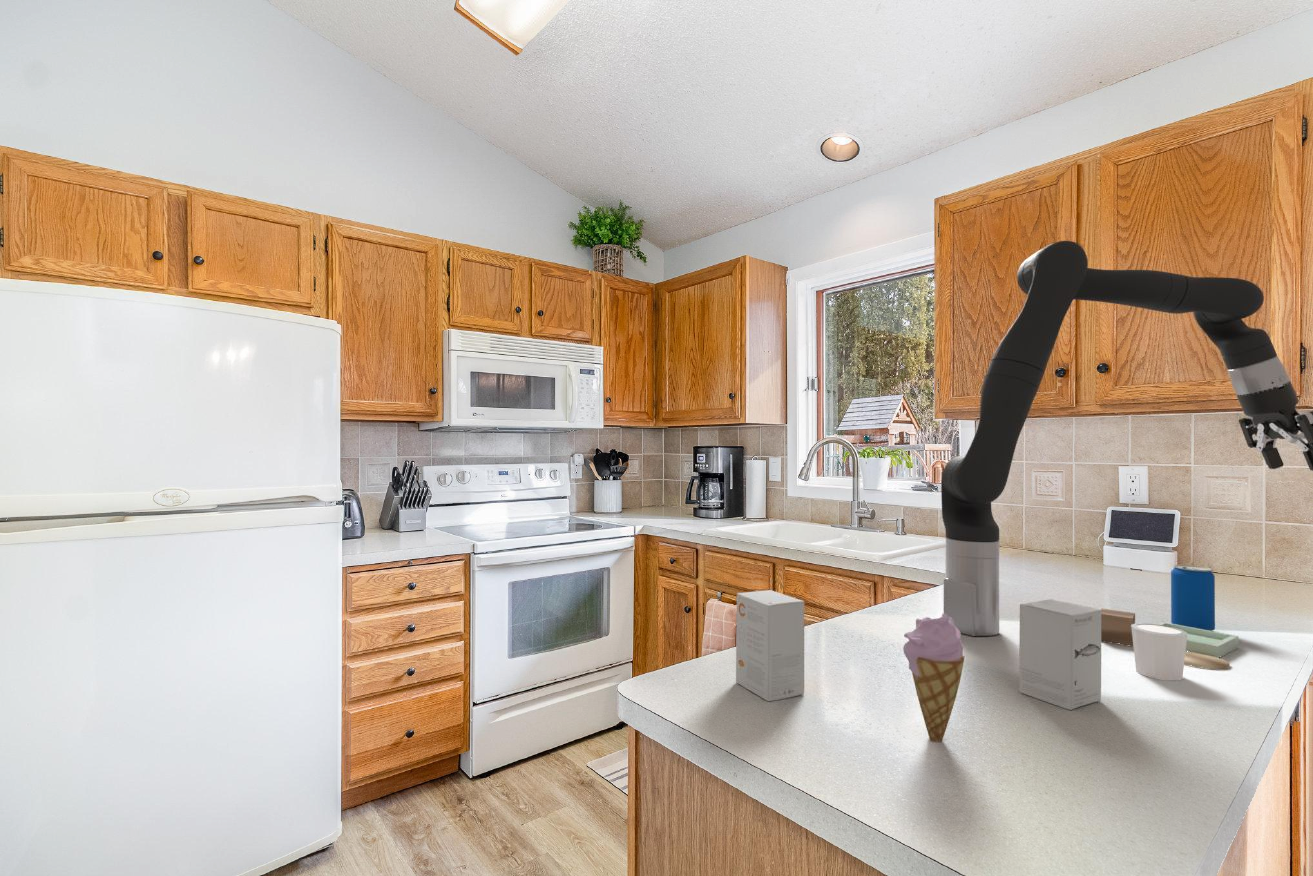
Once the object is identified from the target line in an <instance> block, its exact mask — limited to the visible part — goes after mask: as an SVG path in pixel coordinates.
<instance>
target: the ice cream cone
mask: <svg viewBox="0 0 1313 876" xmlns="http://www.w3.org/2000/svg"><path fill="white" fill-rule="evenodd" d="M903 636H904V638H906V639H908V641H907V642H905V643H904V645H903V654H904V656H905V658H906V659H907V661H908V669H909V671H911V673H912V679H913V683H914V687H915V688H914V689H915V692H916V695H917V699H918V703H919V708H920V711H921V713H922V714H921V715H922V717H923V720H924V721H923V722H924V724H925V728H926V731H927V735H928V738H929V740H930V741H932V742H936V743H942V741H943V740H944V737H945V734H946V731H947V728H948V727H947V726H948V724H949V721H950V717H951V714H952V712H953V708H954V705H955V702H956V698H957V694H958V689H959V687H960V683H961V678H962V674H963V668H964V663H965V656H964V654H963V653H964V652H963V651H964V645H963V642H962V641H961V639H962V633H960V631H959V630H958V629H957V628H956V627H955V626H954V622H953V619H952V618H951V617H948V616H947V615H946V614H944V612H942V615H941V616H940V617H938V618H930V617H929V616H926V617H923V618H922V619H920V618H916V619H915V629H913V631H908V632H905V633H904V634H903Z"/></svg>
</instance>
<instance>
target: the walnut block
mask: <svg viewBox="0 0 1313 876" xmlns="http://www.w3.org/2000/svg"><path fill="white" fill-rule="evenodd" d="M1100 610H1101V642H1103V641H1105V642H1104V643H1109V642H1112V643H1111V644H1114V643H1120V644H1123V645H1122V646H1126V645H1130V646H1129V647H1132V646H1133V638H1132V629H1131V625H1132V624H1136V612H1130V611H1123V610H1116V609H1115V610H1114V609H1108V608H1101V609H1100ZM1120 644H1119V645H1120Z"/></svg>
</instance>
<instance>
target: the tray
mask: <svg viewBox="0 0 1313 876" xmlns="http://www.w3.org/2000/svg"><path fill="white" fill-rule="evenodd" d="M1155 624H1156V625H1163V626H1168V627H1173V628H1177V629H1180V630H1183V631H1185V632H1187V642H1186V651H1188V652H1195V653H1201V654H1206V655H1210V656H1214V657H1217V658H1219V657H1220V656H1222V657H1223V655H1224V656H1225V655H1227V654H1229V653H1231V652H1233V651H1235V650H1237V649H1239V645H1240V644H1239V635H1235V634H1229V633H1224V632H1219V631H1214V630H1212V631H1209V630H1203V629H1198V628H1193V627H1187V626H1182V625H1177V624H1172V623H1171V622H1166V621H1161V622H1157V623H1155ZM1228 652H1229V653H1228ZM1220 658H1221V657H1220Z"/></svg>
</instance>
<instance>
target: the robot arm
mask: <svg viewBox="0 0 1313 876" xmlns="http://www.w3.org/2000/svg"><path fill="white" fill-rule="evenodd" d="M1088 262H1089V261H1088V256H1087V253H1086V251H1085V250H1084V248H1083V247H1082V246H1081V245H1080V244H1079V243H1077V242H1075V241H1073V240H1061V241H1056V242H1053V243H1051V244H1050V243H1049V244H1048V245H1046V246H1044V247H1042V248H1041V249H1040V250H1038V251H1036V252H1035V253H1033V254H1031V255H1030V256H1029V257H1027V258H1026V259H1024V261H1023V262H1022V263H1021V264H1020V266H1019V268H1018V270H1017V274H1016V281H1017V285H1018V287H1019V288H1020V290H1021V291H1022V292H1023V294H1025V295H1027V297H1026V300H1025V302H1024V305H1023V307H1022V309H1021V311H1020V313H1019V314H1018V316H1017V317H1016V319H1015V320H1014V322H1013V324H1012V325H1011V327H1010V328H1009V329H1008V331H1007V332H1006V333H1005V335H1004V336H1003V338H1002V339H1001V341H1000V342H999V344H998V346H997V347H996V349H995V351H994V354H993V355H992V357H991V360H990V362H989V364H988V365H989V366H988V368H987V371H986V373H985V376H984V378H983V382H982V386H981V390H980V392H981V393H980V406H979V407H980V409H979V420H978V425H977V430H976V432H975V434H974V436H973V439H972V441H971V443H970V446H969V448H968V450H967V452H966V454H964V455H958V456H955V457H953V458H951V460H949V461H948V462H947V463H946V465H945V466H944V468H943V470H942V474H941V482H940V489H941V490H940V491H941V492H940V493H941V498H940V499H941V517H942V522H943V526H944V529H945V578H944V579H943V613H944V614H946V615H947V616H948V617H951V618H952V619H953V622H954V626H955V627H956V628H957V629H958V630H959V631H960V633H961V634H963V635H967V636H971V637H978V636H980V637H981V636H984V637H985V636H987V637H989V636H995V635H998V634H1000V528H999V525H998V524H997V521H995V519H994V515H993V512H992V511H993V510H992V502H994V501H996V500H997V499H998V498H999V497H1000V496H1001V495H1002V494H1003V492H1004V490H1005V488H1006V485H1007V482H1008V479H1009V474H1010V472H1011V471H1010V470H1011V467H1012V463H1013V458H1014V455H1015V451H1016V447H1017V443H1018V440H1019V437H1020V435H1021V433H1022V430H1023V428H1024V426H1025V422H1026V420H1027V419H1028V415H1029V413H1030V410H1031V407H1032V406H1033V402H1034V399H1035V398H1036V396H1037V393H1038V390H1039V388H1040V386H1041V383H1042V380H1043V378H1044V375H1045V372H1046V369H1047V365H1048V363H1049V360H1050V357H1051V354H1052V352H1053V349H1054V347H1055V345H1056V342H1057V339H1058V336H1059V334H1060V333H1059V332H1060V330H1061V327H1062V324H1063V322H1064V319H1065V318H1066V315H1067V312H1068V311H1069V308H1070V306H1071V305H1072V303H1073V301H1075V300H1076V301H1078V300H1079V301H1088V302H1097V303H1109V304H1114V305H1115V304H1117V305H1120V306H1127V307H1134V308H1140V309H1145V310H1149V311H1156V312H1160V313H1161V312H1162V313H1167V314H1177V315H1179V314H1180V315H1181V314H1186V313H1187V314H1188V313H1193V317H1194V319H1195V322H1196V323H1197V325H1198V326H1199V327H1200V329H1201V330H1202V331H1203V332H1204V334H1205V335H1206V336H1207V337H1208V339H1209V340H1210V341H1211V342H1212V343H1213V344H1214V345H1215V347H1216V348H1217V349H1218V350H1219V351H1220V355H1221V357H1222V360H1223V362H1224V365H1225V367H1226V370H1227V372H1228V375H1229V379H1230V383H1231V386H1232V388H1233V390H1234V393H1235V396H1236V397H1237V399H1238V402H1239V404H1240V406H1241V409H1242V411H1243V414H1244V415H1245V416H1246V417H1242V418H1240V419H1238V423H1239V426H1240V428H1241V431H1242V434H1243V436H1244V439H1245V442H1246V445H1247V446H1248V448H1250V449H1253V448H1254V449H1256V450H1257V451H1259V452H1261V455H1262V457H1263V460H1264V462H1265V464H1266V466H1267V468H1268V469H1269V470H1277V469H1279V468H1283V466H1284V464H1285V463H1284V461H1283V459H1282V457H1281V455H1280V452H1279V449H1278V448H1277V447H1275V446H1276V443H1277V439H1280V440H1286V441H1288V442H1289V443H1291V444H1295V445H1296V446H1297V447H1299V448H1300V449H1301V450H1302V454H1303V456H1304V459H1305V461H1306V464H1307V466H1308V468H1309V470H1310V471H1313V410H1311V411H1308V412H1305V413H1300V412H1298V411H1297V409H1296V406H1297V404H1299V402H1300V401H1299V398H1298V396H1297V393H1296V391H1295V390H1296V389H1295V388H1294V386H1293V383H1292V381H1291V379H1290V377H1289V374H1288V373H1287V372H1288V371H1287V370H1286V368H1285V366H1284V364H1283V363H1282V361H1281V360H1280V358H1279V356H1278V354H1277V351H1276V349H1275V346H1274V345H1273V342H1272V339H1271V338H1270V336H1269V334H1268V333H1267V331H1265V330H1264V329H1262V328H1253V327H1250V326H1248V325H1247V324H1246V323H1245V322H1244V320H1243V319H1246V318H1248V317H1251V316H1253V315H1254V314H1255V313H1257V312H1258V311H1259V310H1260V309H1261V307H1262V306H1263V304H1264V302H1265V301H1264V299H1265V296H1264V292H1263V291H1262V289H1261V288H1260V287H1259V286H1258V285H1257V284H1256V283H1253V282H1252V281H1249V280H1246V279H1242V278H1238V277H1237V278H1235V277H1222V276H1221V277H1217V276H1216V277H1215V276H1199V277H1197V276H1191V275H1190V276H1189V275H1184V274H1180V273H1173V272H1168V271H1163V270H1152V269H1101V268H1090V267H1088V266H1089V265H1088V264H1089V263H1088ZM1253 436H1255V439H1254V437H1253ZM1304 440H1306V441H1307V442H1306V441H1304Z"/></svg>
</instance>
